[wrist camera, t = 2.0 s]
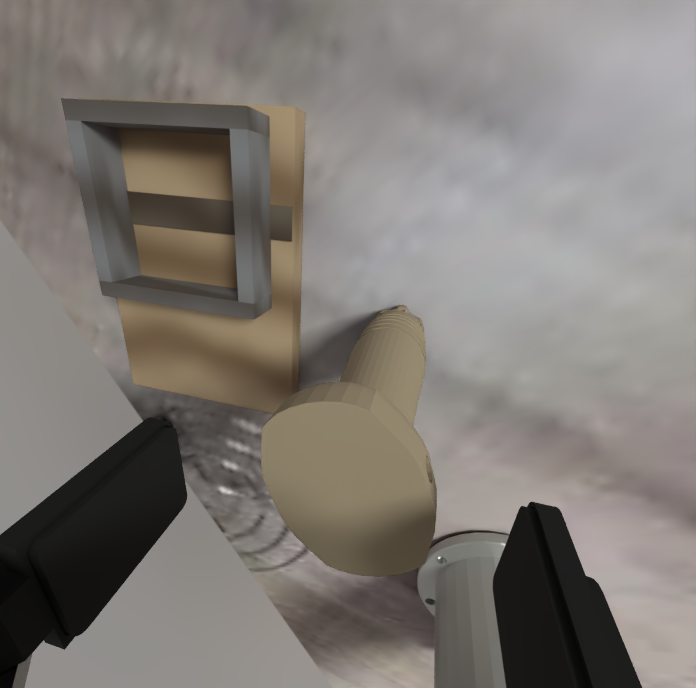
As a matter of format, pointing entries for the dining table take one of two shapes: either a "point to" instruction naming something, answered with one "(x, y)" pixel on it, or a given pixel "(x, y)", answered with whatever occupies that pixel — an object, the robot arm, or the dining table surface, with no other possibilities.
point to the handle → (358, 457)
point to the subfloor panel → (198, 240)
